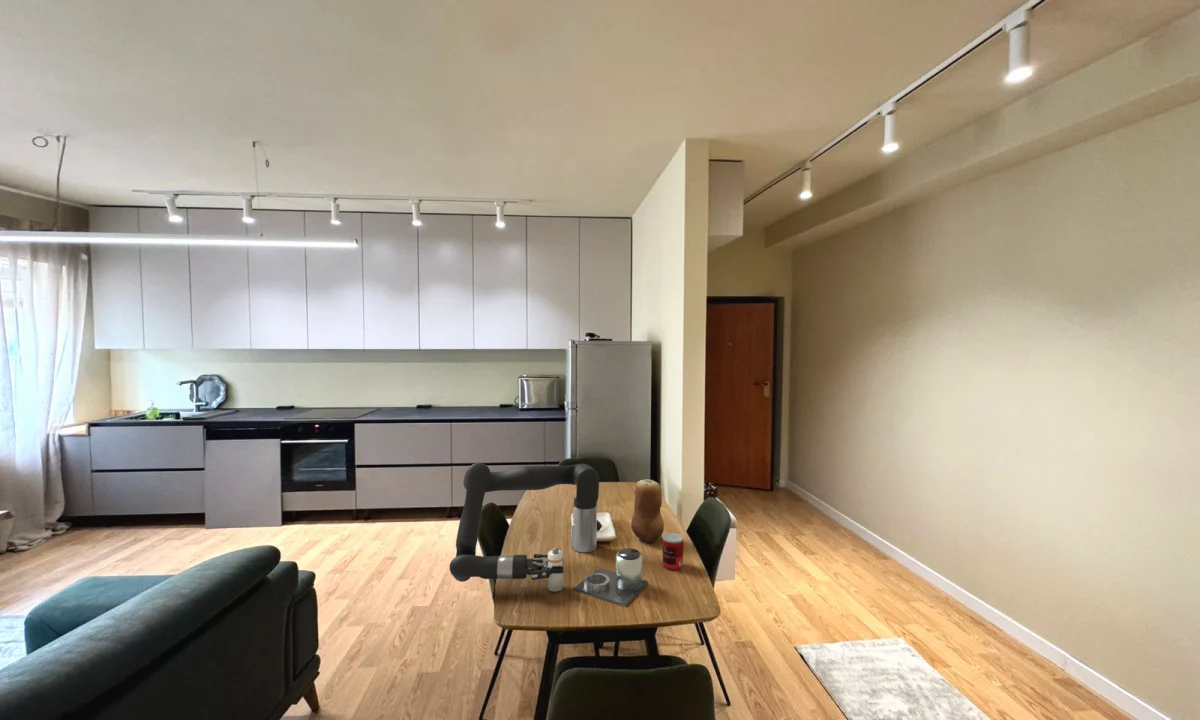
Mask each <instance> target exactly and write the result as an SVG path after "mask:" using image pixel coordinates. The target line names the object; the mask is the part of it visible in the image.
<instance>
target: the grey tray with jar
mask: <svg viewBox="0 0 1200 720" xmlns="http://www.w3.org/2000/svg"><path fill="white" fill-rule="evenodd" d="M643 558H644V557H643V553H641V552H640V551H639V549H635V548H622V549H620V550H618V551H617V552H616V553H615V571H614V570H609V569H606V568H602V567H598V568H597V569H596V570H595V571H593V572H592V573H589V574H586V576H584V577H583V580H582V581H581V582H579V583H578V584H577V585H575V586H574V587H573V590H574V591H577V592H579V593H582V594H584V595H587V596H591V597H594V598H597V599H600V600H603V599H604V601H606V600H607V601H606V602H609V601H610V602H609V603H612V602H613V603H612V604H615V603H616V605H618V604H620V605H619V606H621V605H623V606H622V607H624V606H625V608H626V607H627V606H628V605H629V604H630V603H631V602H632V601H633V600H634V599H635V598H637V596H638V595H639V594H640V593H641V592H642V591H643V590H644V589H646V587H647V586H648V585H649V583H650V582H649V581H648V580H644V579H643Z"/></svg>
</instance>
